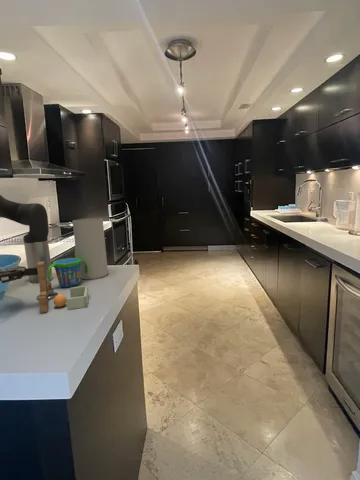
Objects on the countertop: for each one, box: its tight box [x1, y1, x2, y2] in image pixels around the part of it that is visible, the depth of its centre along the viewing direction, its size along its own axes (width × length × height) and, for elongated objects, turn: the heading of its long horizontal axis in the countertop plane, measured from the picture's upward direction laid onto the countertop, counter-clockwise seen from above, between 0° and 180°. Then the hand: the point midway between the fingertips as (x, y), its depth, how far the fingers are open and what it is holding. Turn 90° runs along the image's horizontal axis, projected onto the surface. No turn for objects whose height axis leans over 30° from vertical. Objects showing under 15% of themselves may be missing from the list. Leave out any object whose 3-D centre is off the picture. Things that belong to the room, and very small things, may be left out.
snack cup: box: [47, 257, 88, 288], centre depth 118 cm, size 16×10×10 cm
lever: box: [37, 262, 53, 314], centre depth 98 cm, size 18×4×14 cm, turn 21°
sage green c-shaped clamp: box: [66, 285, 90, 311], centre depth 99 cm, size 12×6×4 cm, turn 15°
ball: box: [53, 294, 67, 308], centre depth 96 cm, size 4×4×4 cm
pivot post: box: [36, 287, 59, 301], centre depth 106 cm, size 7×7×3 cm
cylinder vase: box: [72, 217, 109, 280], centre depth 129 cm, size 12×12×25 cm
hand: (38, 270), depth 97 cm, fingers closed
